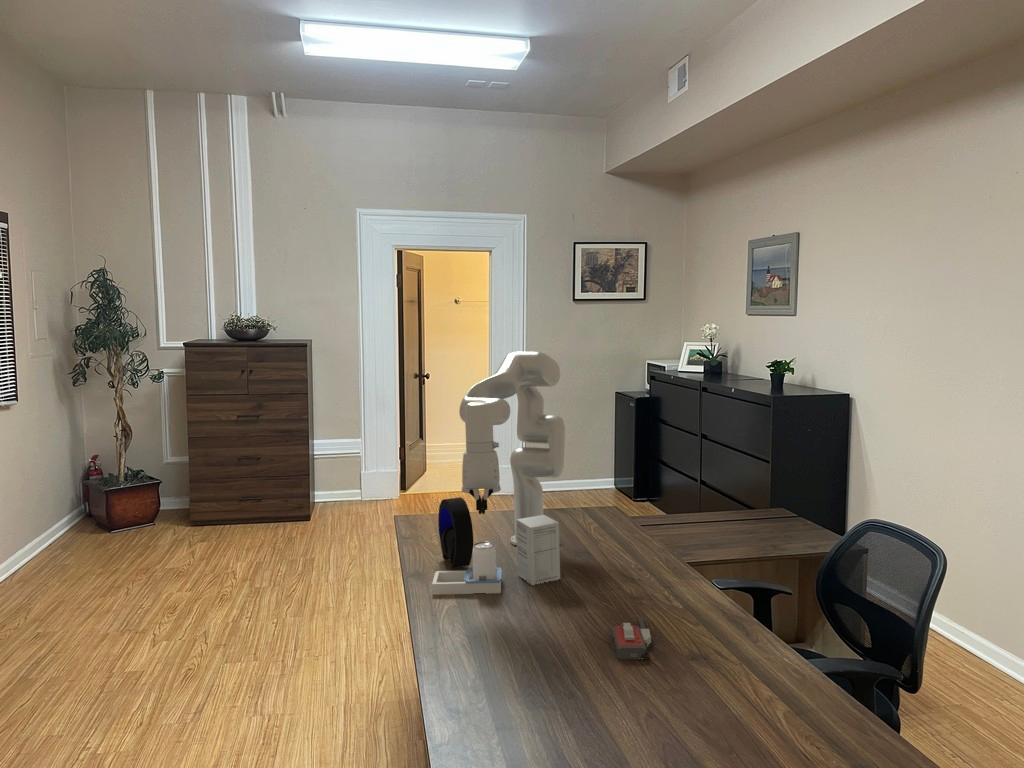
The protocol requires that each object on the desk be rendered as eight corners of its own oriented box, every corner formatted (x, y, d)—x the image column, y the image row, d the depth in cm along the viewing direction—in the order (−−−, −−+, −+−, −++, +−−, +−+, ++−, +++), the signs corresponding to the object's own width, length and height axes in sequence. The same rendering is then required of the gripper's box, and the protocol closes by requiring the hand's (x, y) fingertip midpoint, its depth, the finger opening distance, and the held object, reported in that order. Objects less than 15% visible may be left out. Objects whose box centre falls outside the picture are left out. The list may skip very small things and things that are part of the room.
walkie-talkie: (657, 663, 154) (644, 623, 174) (657, 644, 154) (644, 605, 173) (616, 664, 154) (608, 623, 174) (616, 644, 154) (607, 606, 174)
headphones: (476, 572, 210) (474, 505, 208) (455, 575, 208) (452, 508, 206) (457, 552, 227) (455, 491, 225) (437, 555, 225) (435, 493, 223)
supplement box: (546, 569, 211) (544, 513, 209) (561, 579, 202) (560, 521, 201) (516, 575, 206) (515, 518, 205) (531, 586, 198) (529, 527, 196)
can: (500, 584, 200) (499, 542, 199) (490, 592, 194) (489, 549, 193) (480, 581, 203) (478, 539, 202) (469, 589, 197) (468, 547, 196)
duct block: (502, 579, 203) (501, 564, 203) (501, 593, 193) (501, 577, 193) (436, 581, 204) (435, 565, 203) (432, 595, 194) (431, 578, 193)
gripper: (507, 443, 198) (509, 508, 200) (453, 445, 199) (455, 509, 200) (507, 449, 191) (509, 516, 193) (451, 450, 191) (453, 517, 193)
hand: (481, 512), depth 197 cm, fingers closed
